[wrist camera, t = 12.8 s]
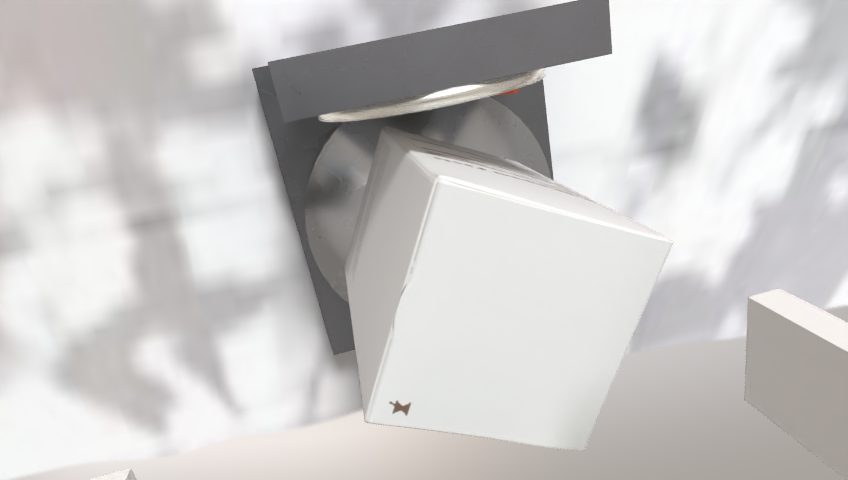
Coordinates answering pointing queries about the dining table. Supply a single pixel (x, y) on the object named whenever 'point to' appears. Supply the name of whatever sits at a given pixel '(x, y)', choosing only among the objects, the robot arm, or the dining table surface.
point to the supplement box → (490, 295)
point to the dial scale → (412, 116)
